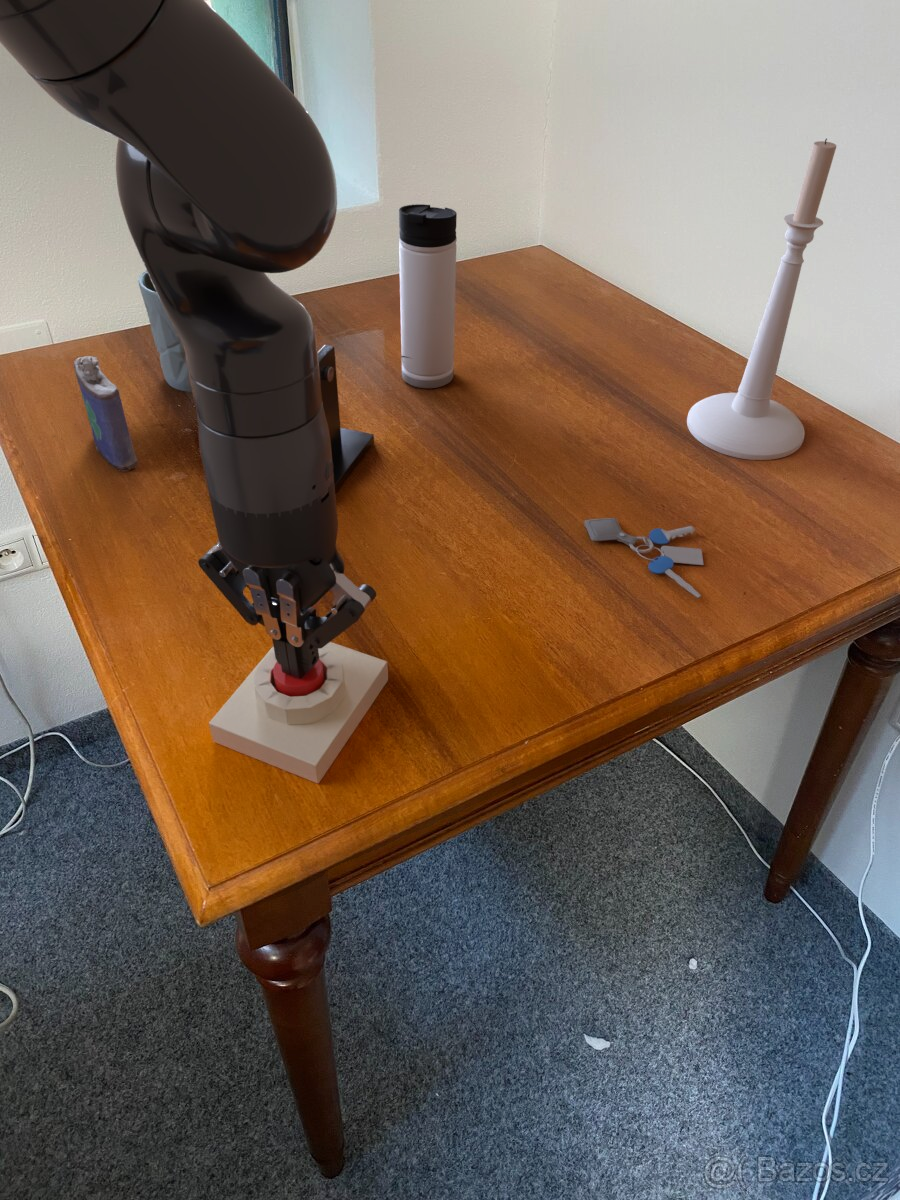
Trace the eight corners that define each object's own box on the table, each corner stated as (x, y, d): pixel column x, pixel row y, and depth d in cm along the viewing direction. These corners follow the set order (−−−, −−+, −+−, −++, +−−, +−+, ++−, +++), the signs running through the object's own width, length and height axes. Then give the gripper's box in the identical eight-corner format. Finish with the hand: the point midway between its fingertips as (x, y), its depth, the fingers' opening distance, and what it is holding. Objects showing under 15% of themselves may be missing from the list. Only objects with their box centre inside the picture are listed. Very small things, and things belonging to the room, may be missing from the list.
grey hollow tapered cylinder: (157, 361, 108) (135, 264, 100) (240, 350, 110) (225, 254, 102) (164, 401, 101) (141, 300, 93) (252, 389, 103) (237, 289, 95)
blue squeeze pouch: (141, 467, 91) (116, 373, 84) (113, 476, 90) (85, 381, 82) (113, 427, 96) (87, 336, 89) (87, 435, 95) (58, 343, 88)
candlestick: (827, 440, 97) (934, 148, 77) (742, 472, 92) (832, 168, 72) (745, 389, 105) (822, 112, 85) (663, 416, 100) (723, 129, 80)
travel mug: (392, 384, 105) (386, 211, 91) (414, 360, 109) (412, 191, 96) (440, 395, 103) (442, 220, 89) (461, 370, 107) (466, 200, 94)
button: (308, 708, 64) (306, 692, 62) (266, 693, 65) (263, 677, 63) (333, 675, 66) (331, 659, 65) (292, 660, 67) (289, 644, 66)
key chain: (571, 532, 84) (572, 525, 83) (622, 497, 88) (623, 490, 88) (696, 602, 77) (698, 595, 76) (745, 560, 81) (747, 553, 81)
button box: (318, 784, 62) (313, 749, 60) (213, 742, 65) (203, 706, 62) (388, 680, 70) (387, 645, 67) (291, 645, 72) (286, 610, 70)
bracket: (327, 505, 87) (316, 389, 78) (246, 487, 89) (227, 372, 80) (374, 443, 95) (369, 332, 86) (299, 428, 97) (286, 318, 88)
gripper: (140, 477, 52) (193, 674, 64) (335, 536, 48) (353, 735, 60) (214, 416, 57) (251, 610, 69) (396, 466, 53) (402, 662, 65)
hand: (299, 668), depth 64 cm, fingers closed
